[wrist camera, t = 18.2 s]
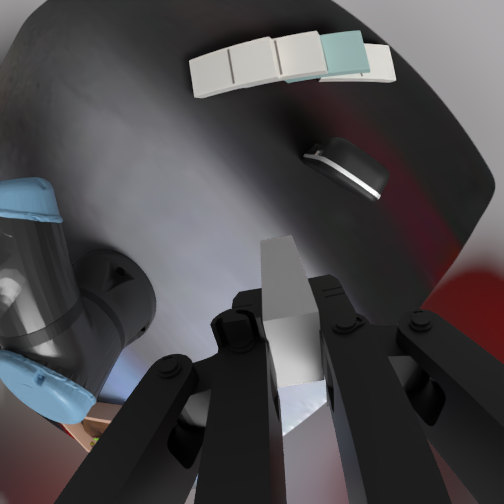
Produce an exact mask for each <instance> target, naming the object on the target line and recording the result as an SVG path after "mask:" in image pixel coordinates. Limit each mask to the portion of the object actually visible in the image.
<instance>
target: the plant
mask: <svg viewBox="0 0 504 504" xmlns="http://www.w3.org/2000/svg"><path fill="white" fill-rule="evenodd" d="M109 424H110V423H104V422H98V421H93V420H88V419H83V428H84V431H85V432H86V433H87V434H88V435H90V436H91V437H92V438H93V439H94V440H95V441H98V439H99V438H100V437H101V435H102V434H103V432H104V431H105V429H106V428H107V427H108V425H109ZM90 445H91V447H92V448H93V446H94V445H95V443H94V442H92V441H91V442H90Z"/></svg>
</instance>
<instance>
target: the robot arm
mask: <svg viewBox="0 0 504 504" xmlns="http://www.w3.org/2000/svg"><path fill="white" fill-rule="evenodd" d="M61 222H63V219H62V217H61V216H60V214H59V210H58V206H57V202H56V197H55V193H54V189H53V187H52V185H51V184H50V182H48V181H47V180H46V179H44V178H40V177H29V178H19V179H11V180H4V181H0V345H1V347H2V349H1V350H0V378H1V380H2V381H3V382H4V384H5V385H6V386H7V387H8V389H9V390H11V392H12V393H13V394H15V396H16V397H18V398H19V399H20V400H21V401H22V402H24V403H25V404H26V405H27V406H29V407H30V408H32V409H33V410H35V411H36V412H38V413H39V414H41V415H43V416H45V417H47V418H49V419H51V420H54V421H56V422H60V423H63V424H77V423H79V422H81V421H82V420H83V419H84V418H85V417H86V415H87V413H88V412H89V410H90V408H91V407H92V406H93V405H94V404H95V403H96V400H97V398H98V396H99V394H100V392H101V390H102V388H103V386H104V384H105V382H106V380H107V378H108V376H109V374H110V372H111V370H112V368H113V366H114V364H115V362H116V361H117V359H118V357H119V355H120V353H121V351H122V350H123V348H125V347H126V346H128V345H129V344H131V343H132V342H134V341H135V340H136V339H138V338H139V337H141V336H142V335H143V334H144V333H145V332H146V331H147V329H148V328H149V326H150V324H151V322H152V321H153V319H154V316H155V312H156V297H155V293H154V290H153V287H152V285H151V283H150V281H149V279H148V278H147V276H146V275H145V273H144V272H143V271H142V270H141V269H140V268H139V267H138V266H137V265H136V264H135V263H134V262H133V261H132V260H130V259H129V258H127V257H126V256H124V255H122V254H120V253H117V252H114V251H110V250H96V251H92V252H90V253H88V254H86V255H85V256H83V257H82V258H81V259H80V260H78V261H77V262H76V263H75V264H74V266H73V267H72V263H71V260H70V256H69V252H68V248H67V244H66V240H65V236H64V232H63V228H62V223H61ZM260 244H261V277H262V288H259V289H253V290H248V291H242V292H239V293H238V294H237V295H236V297H235V298H234V299H233V303H232V309H229V310H226V311H224V312H222V313H220V314H219V315H217V316H216V317H215V318H214V319H213V320H212V322H211V324H210V325H211V328H212V331H213V334H214V337H215V339H216V342H217V345H218V353H217V354H215V355H213V356H212V357H209V358H207V359H204V360H201V361H198V362H195V363H192V361H191V359H190V358H189V357H187V356H186V355H182V354H171V355H168V356H165V357H162V358H161V359H159V360H157V361H156V362H155V363H154V364H153V365H152V366H151V367H150V368H149V370H148V371H147V373H146V374H145V375H144V377H143V378H142V379H141V381H140V382H139V384H138V385H137V386H136V388H135V389H134V390H133V392H132V393H131V395H130V396H129V397H128V399H127V400H126V402H125V403H124V404H123V406H122V407H121V408H120V410H119V411H118V413H117V414H116V415H115V417H114V418H113V420H112V421H111V422H110V424H109V425H108V427H107V428H106V429H105V431H104V432H103V434H102V435H101V437H100V438H99V439H98V441H97V442H96V444H95V445H94V446H93V448H92V449H91V451H90V452H89V454H88V455H87V457H86V458H85V459H84V461H83V462H82V464H81V465H80V467H79V468H78V469H77V471H76V472H75V474H74V475H73V476H72V478H71V479H70V481H69V482H68V484H67V485H66V487H65V488H64V489H63V491H62V492H61V494H60V495H59V497H58V498H57V500H56V501H55V503H54V504H184V503H185V501H186V499H187V497H188V495H189V493H190V490H191V488H192V486H193V484H194V482H195V480H196V477H197V475H198V479H197V486H196V494H195V500H194V504H287V501H286V485H285V468H284V453H283V437H282V422H281V409H280V399H279V395H278V390H277V385H278V388H280V387H287V386H293V385H299V384H304V383H310V382H315V381H320V380H324V376H325V380H326V392H327V406H330V409H331V414H332V419H333V423H334V428H335V432H336V437H337V442H338V447H339V452H340V457H341V461H342V467H343V471H344V477H345V482H346V488H347V492H348V499H349V504H452V503H451V501H450V498H449V495H448V492H447V489H446V486H445V484H444V481H443V479H442V476H441V473H440V470H439V468H438V465H437V463H436V460H435V458H434V455H433V453H432V450H431V448H430V446H429V443H428V441H427V439H428V440H429V442H430V443H431V444H432V445H433V446H434V448H435V449H436V450H437V452H438V453H439V454H440V455H441V457H442V458H443V459H444V460H445V461H446V463H447V464H448V465H449V466H450V468H451V469H452V470H453V471H454V473H455V474H456V475H457V476H458V478H459V479H460V480H461V482H462V483H463V484H464V485H465V486H466V488H467V489H468V490H469V492H470V493H471V494H472V495H473V497H474V498H475V499H476V500H477V502H478V503H479V504H504V364H502V363H501V362H500V361H499V360H497V359H496V358H495V357H493V356H492V355H491V354H490V353H488V352H487V351H486V350H484V349H483V348H482V347H481V346H479V345H478V344H477V343H475V342H474V341H473V340H471V339H470V338H469V337H467V336H466V335H464V334H463V333H462V332H461V331H459V330H458V329H457V328H455V327H454V326H453V325H451V324H450V323H448V322H447V321H446V320H444V319H443V318H441V317H440V316H439V315H437V314H436V313H434V312H431V311H429V310H423V309H417V310H411V311H408V312H405V313H404V314H403V315H401V316H400V318H399V320H398V323H397V325H395V326H376V325H372V324H370V323H369V321H368V320H367V319H366V318H365V317H364V316H362V315H360V314H358V313H356V311H355V309H354V308H353V306H352V304H351V302H350V300H349V298H348V296H347V295H346V294H345V291H344V289H343V288H342V285H341V284H340V282H339V280H338V279H337V278H335V277H333V276H332V275H330V274H329V275H324V276H319V277H314V278H308V279H307V276H306V273H305V270H304V267H303V265H302V262H301V259H300V256H299V254H298V251H297V248H296V245H295V243H294V240H293V237H292V235H289V236H284V237H278V238H273V239H267V240H262V241H260ZM426 438H427V439H426Z"/></svg>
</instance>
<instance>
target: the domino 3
mask: <svg viewBox="0 0 504 504" xmlns="http://www.w3.org/2000/svg"><path fill="white" fill-rule="evenodd" d="M320 39H321V43H322V48H323V52H324V57H325V61H326V66H327V71H328V74H322V75H314V76H307V77H300V78H294V79H288V80H284V81H286V82H287V83H291V82H297V81H302V80H308V79H315V78H322V77H329V76H338V75H347V74H358V73H370V66H369V62H368V58H367V54H366V50H365V46H364V43H363V39H362V36H361V32H360V31H349V32H340V33H332V34H325V35H320Z"/></svg>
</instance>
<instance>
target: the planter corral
mask: <svg viewBox="0 0 504 504" xmlns="http://www.w3.org/2000/svg"><path fill="white" fill-rule="evenodd" d="M122 406H123V405H118V404H109V403H101V402H96V403H95V404H94V405H93V406H92V407H91V408H90V410H89V412H88V413H87V415H86V417H85V418H84V419H88V420H93V421H98V422H104V423H110V422H111V421H112V420H113V418H114V417H115V415H116V414H117V413H118V411H119V410H120V408H121V407H122ZM62 424H63V423H62ZM63 426H64V427H65V428H66V429H67V430H68V431H69V432H70V434H71V435H72V436H73V437H74V438H75V439H76V440H77V441H78V442H79V443H80V444H81V445H82V446H83V447H84V448H85V449H86V450H87V451H88V452H90V451H91V449H92V447H91V445H90V442H91V441H92V442H94V443H95V444H96V442H97V441H95V440H94V439H93V438H92V437H91V436H90V435H88V434H87V433H86V432H85V431H84V428H83V425H82V423H81V422H79V423H77V424H63Z"/></svg>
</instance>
